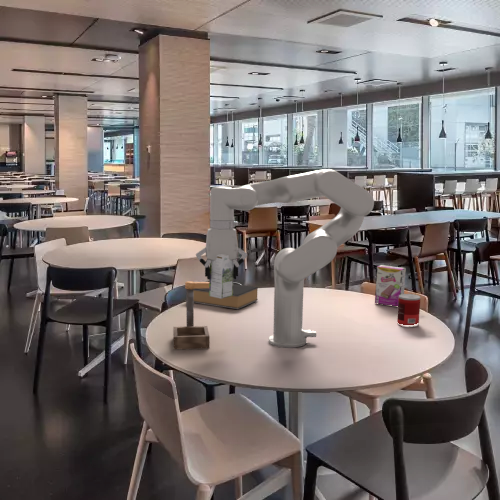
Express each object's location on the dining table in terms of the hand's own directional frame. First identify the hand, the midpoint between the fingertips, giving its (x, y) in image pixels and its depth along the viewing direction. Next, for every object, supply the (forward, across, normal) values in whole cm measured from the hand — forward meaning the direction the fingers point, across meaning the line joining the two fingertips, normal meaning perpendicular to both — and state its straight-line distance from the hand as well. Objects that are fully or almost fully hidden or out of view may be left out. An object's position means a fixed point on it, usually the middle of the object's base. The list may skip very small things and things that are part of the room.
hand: (221, 278), depth 187 cm
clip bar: (+5, +4, -9) cm, 11 cm away
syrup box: (+6, 0, 0) cm, 6 cm away
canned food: (+22, -71, -14) cm, 76 cm away
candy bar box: (+22, -75, -43) cm, 89 cm away
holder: (+22, +10, -3) cm, 24 cm away
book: (+22, -5, -54) cm, 59 cm away
